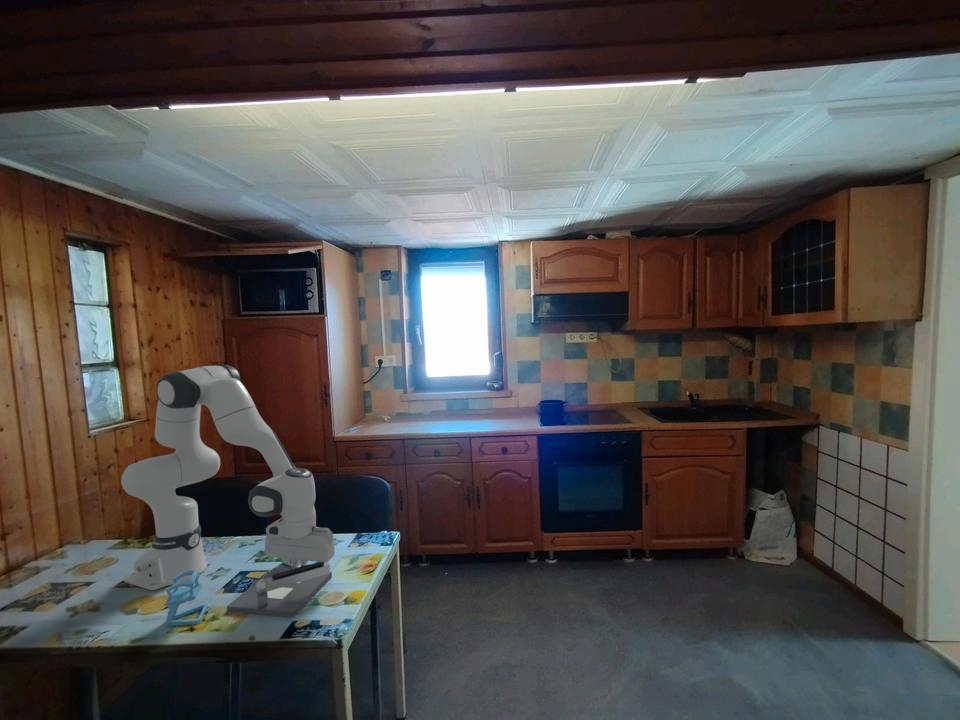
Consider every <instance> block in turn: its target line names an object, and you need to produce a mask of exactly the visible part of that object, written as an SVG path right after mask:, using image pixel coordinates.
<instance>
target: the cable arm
mask: <svg viewBox="0 0 960 720" xmlns="http://www.w3.org/2000/svg"><path fill="white" fill-rule="evenodd" d="M330 572H331V565H330V562H329V561H328V562H316V561H315V562H313V563H309V564H306V565H305V566H301V567H298V568H295V567H294V568H291V570H287V571H283V572H280V573H276V574H273V575H272V577H271V578H263V577H261V578H262V579H261V578H260V579H258V580H257V581H256V582H255V583H256V593H257V595H263V594H265V593H267V592H268V591H271V590H275V589H278V588H281V587H285V586H288V585H291V584H295V583H298V582H302V581H305V580H308V579H312V578H315V577H318V576H322V575H325V574H328V573H330Z"/></svg>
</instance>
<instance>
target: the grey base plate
mask: <svg viewBox="0 0 960 720" xmlns="http://www.w3.org/2000/svg"><path fill="white" fill-rule="evenodd" d="M291 569H292V568H291ZM291 569H290V568H276V567H274V568H272V569H271V570H270V571H269V572H268V573H266V574H265V575H264V576H262V577H261V578H260V579H262V578H271V577H272V575H273V574H276V573H280V572H283V571H287V570H291ZM332 573H333V572H331V571H330V573H328V574H325V575H322V576H318V577H315V578H312V579H308V580H305V581H302V582H298V583H295V584H291V585H288V586H285V587H281V588H278V589H275V590H271V591H268V592H267V593H265V594H263V595H257V593H256V582H255V583H253V585H251V586H250V587H248V589H246V590H245V591H244V592H242V593H241V594H240V595H239V596H238V597H237V598H235V599H233V600H232V601H231V602H230V603H228V605H226V612H227V613H228V612H229V613H237V614H238V613H239V614H247V615H248V614H249V615H259V616H270V617H280V618H281V617H282V618H290V619H291V618H293V619H294V618H295V617H296V616H297V615H298V613H299V612H300V611H301V610H302V609H304V607H305V606H306V605H307V604H308V603H309V602H310V601H311V600H312V599H313V597H315V596H316V594H317V593H319V591H320V590H322V588H323V587H324V586H325V585H326V584H327V583H328V582H329V581H330V580H331V579H332V576H333V574H332Z"/></svg>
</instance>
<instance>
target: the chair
mask: <svg viewBox="0 0 960 720" xmlns="http://www.w3.org/2000/svg"><path fill="white" fill-rule="evenodd" d="M200 574H201V573H200V572H199V571H186V572H184V573H182V574H180V575H179V576H177V577H174V578H172V579H173V581H174V584H172V585H169V587H168V586H167V587H165V589H164V590H165V591H166V594H167V595H168V598H167V599H166V601H165V603H164V604H165V607H168V612H167V616H166V620H165V622H164V626H165V627H172V626H174V627H175V626H189V625H190V626H191V625H198V624H200V623H201V622H202V619H203V617H204V615H205V612H207V609H208V602H207V603H206V602H205V603H202V604H200V605H197V606H193V607H191V608H188V609H186V610H183V611H181V612H178V613H177V611H178V608H179V606H180V605H182V604H185V603H186V602H190V601H194V600H196V599H197V596H198V594H199V592H200V590H201V589H202V587H203V583H199V582H200V581H199V579H200ZM187 575H191V577H190V578H189V579H185V580H181V581H178V582H177V580H178V579H180V578H182V577H184V576H187ZM171 591H172V592H171ZM200 610H201V611H200ZM197 611H200V613H199V615H198V617H197V618H196V619H193V618H191V619H189V618H188V619H179V618H182V617H184V616H187V615H190V614H192V613H195V612H197Z"/></svg>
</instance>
